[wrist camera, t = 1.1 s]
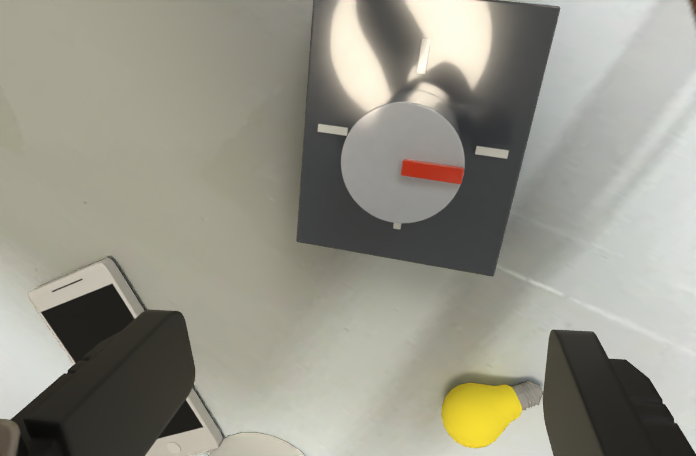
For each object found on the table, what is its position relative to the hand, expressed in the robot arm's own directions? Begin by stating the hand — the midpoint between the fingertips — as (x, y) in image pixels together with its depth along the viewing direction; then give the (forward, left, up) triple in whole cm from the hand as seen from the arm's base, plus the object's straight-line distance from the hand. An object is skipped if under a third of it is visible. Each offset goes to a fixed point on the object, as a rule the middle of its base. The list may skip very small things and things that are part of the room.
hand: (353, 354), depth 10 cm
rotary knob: (-2, 0, -13) cm, 13 cm away
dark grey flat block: (-2, 0, -16) cm, 16 cm away
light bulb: (+13, +7, -16) cm, 22 cm away
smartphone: (+17, -17, -16) cm, 29 cm away
